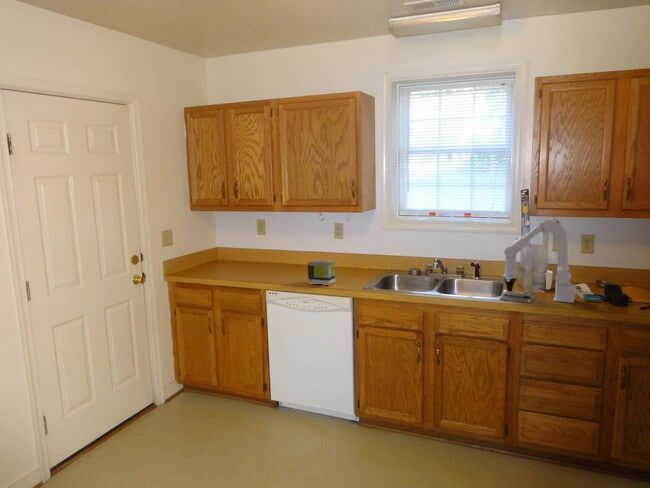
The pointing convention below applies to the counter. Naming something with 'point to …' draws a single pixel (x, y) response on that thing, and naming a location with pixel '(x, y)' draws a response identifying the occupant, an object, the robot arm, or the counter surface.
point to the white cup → (548, 279)
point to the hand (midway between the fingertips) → (509, 291)
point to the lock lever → (517, 293)
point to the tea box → (321, 271)
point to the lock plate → (518, 298)
